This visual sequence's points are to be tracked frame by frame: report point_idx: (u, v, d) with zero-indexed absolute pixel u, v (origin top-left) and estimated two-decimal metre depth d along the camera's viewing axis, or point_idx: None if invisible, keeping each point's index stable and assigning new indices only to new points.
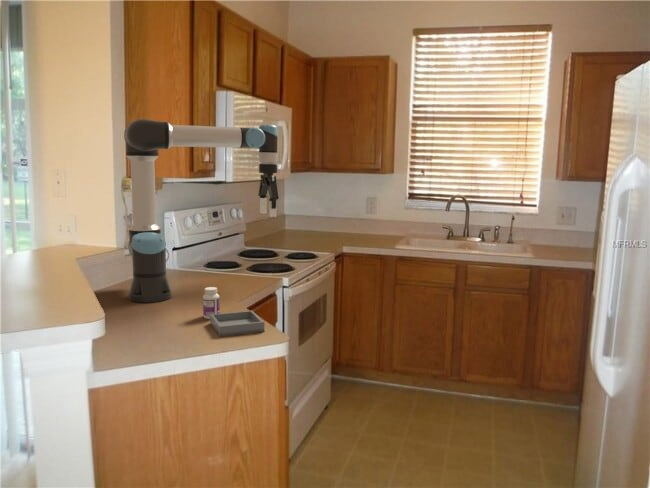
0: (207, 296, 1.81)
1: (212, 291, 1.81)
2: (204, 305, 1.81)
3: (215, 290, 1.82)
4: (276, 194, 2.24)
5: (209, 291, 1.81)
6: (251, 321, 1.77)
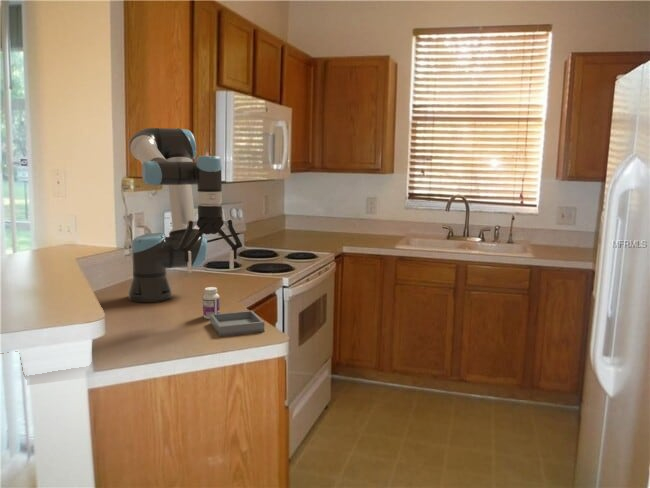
0: (207, 296, 1.81)
1: (212, 291, 1.81)
2: (204, 305, 1.81)
3: (215, 290, 1.82)
4: (180, 244, 1.76)
5: (209, 291, 1.81)
6: (251, 321, 1.77)
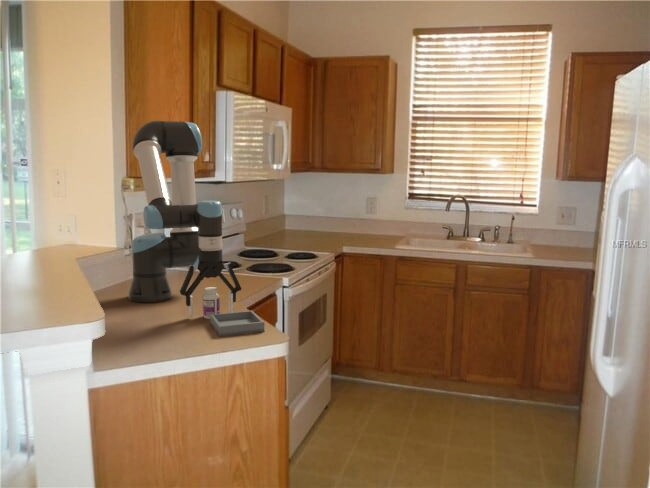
0: (207, 296, 1.81)
1: (212, 291, 1.81)
2: (204, 305, 1.81)
3: (215, 290, 1.82)
4: (182, 288, 1.78)
5: (209, 291, 1.81)
6: (251, 321, 1.77)
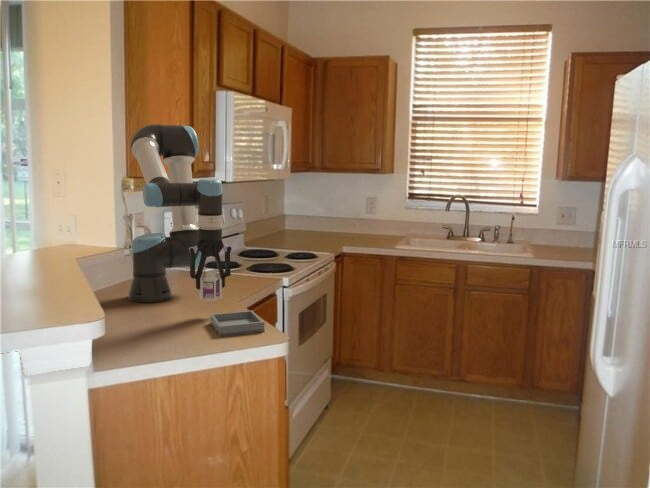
0: (206, 278, 1.80)
1: (211, 273, 1.80)
2: (203, 287, 1.81)
3: (214, 272, 1.81)
4: (190, 272, 1.79)
5: (208, 273, 1.80)
6: (251, 321, 1.77)
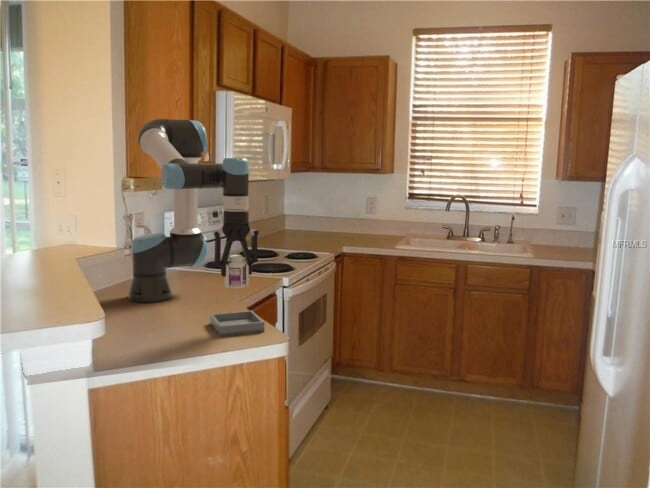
0: (232, 264, 1.68)
1: (238, 258, 1.68)
2: (229, 274, 1.68)
3: (241, 257, 1.69)
4: (215, 258, 1.67)
5: (235, 258, 1.68)
6: (251, 321, 1.77)
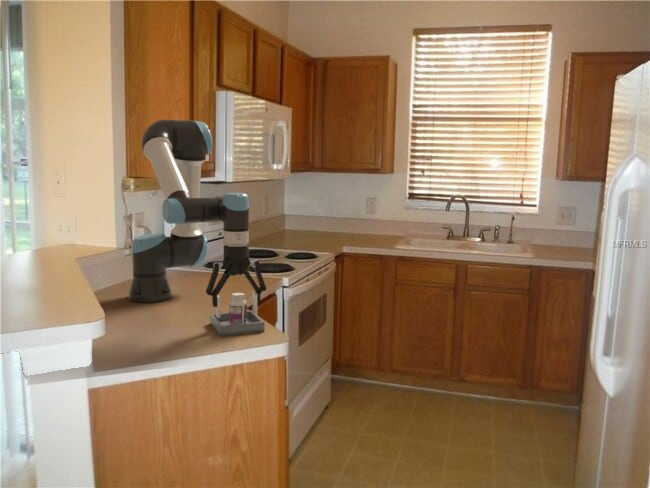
0: (234, 302, 1.70)
1: (240, 297, 1.70)
2: (231, 312, 1.70)
3: (243, 296, 1.71)
4: (208, 288, 1.67)
5: (237, 297, 1.70)
6: (251, 321, 1.77)
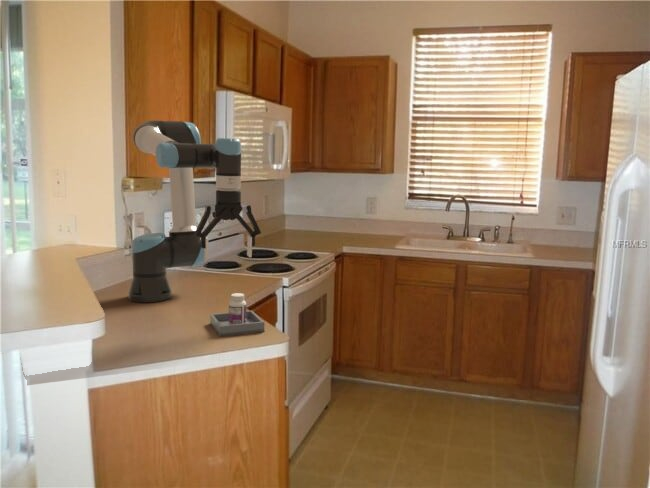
0: (234, 303, 1.70)
1: (240, 298, 1.70)
2: (231, 313, 1.70)
3: (242, 296, 1.71)
4: (197, 229, 1.70)
5: (236, 298, 1.70)
6: (251, 321, 1.77)
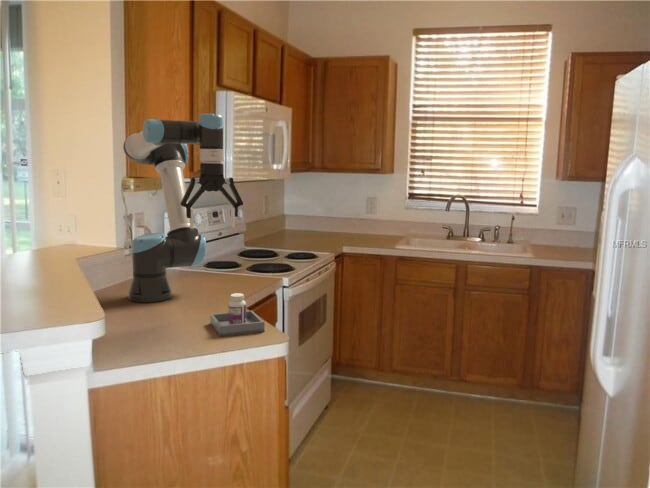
0: (234, 303, 1.70)
1: (239, 298, 1.70)
2: (231, 313, 1.70)
3: (242, 297, 1.71)
4: (182, 200, 1.80)
5: (236, 298, 1.70)
6: (251, 321, 1.77)
